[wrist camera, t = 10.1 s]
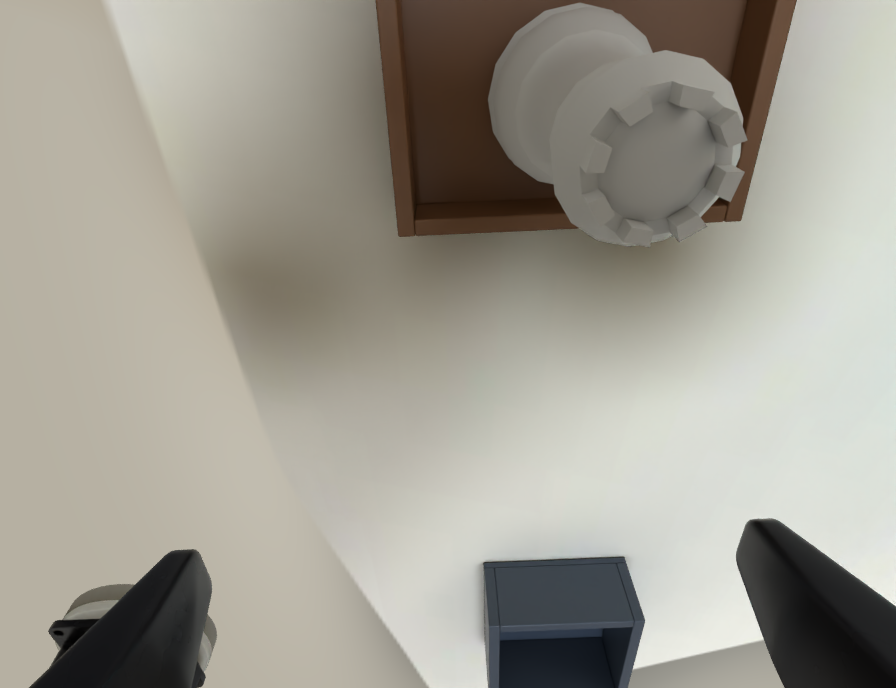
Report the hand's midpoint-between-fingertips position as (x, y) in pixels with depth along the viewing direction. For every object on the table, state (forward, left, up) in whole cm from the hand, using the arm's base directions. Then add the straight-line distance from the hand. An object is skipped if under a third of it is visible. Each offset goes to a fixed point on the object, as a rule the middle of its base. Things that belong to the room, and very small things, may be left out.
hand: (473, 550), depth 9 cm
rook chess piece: (+3, +5, -11) cm, 13 cm away
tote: (+4, -20, -11) cm, 23 cm away
